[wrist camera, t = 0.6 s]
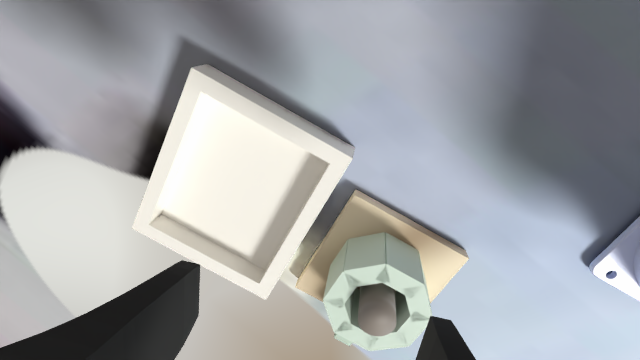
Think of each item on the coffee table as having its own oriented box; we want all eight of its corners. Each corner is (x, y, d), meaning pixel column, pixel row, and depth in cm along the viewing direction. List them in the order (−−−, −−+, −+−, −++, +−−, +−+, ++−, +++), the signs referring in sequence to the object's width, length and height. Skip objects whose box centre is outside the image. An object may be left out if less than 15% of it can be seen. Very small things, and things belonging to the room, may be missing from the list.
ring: (441, 263, 21) (451, 299, 18) (380, 336, 23) (381, 377, 20) (361, 218, 20) (358, 248, 18) (308, 297, 23) (298, 334, 20)
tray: (354, 147, 20) (352, 158, 18) (273, 280, 24) (265, 300, 22) (207, 63, 19) (191, 67, 18) (149, 214, 23) (131, 228, 22)
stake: (466, 250, 21) (487, 306, 17) (396, 332, 24) (400, 397, 20) (355, 188, 21) (349, 230, 16) (298, 278, 23) (279, 334, 19)
